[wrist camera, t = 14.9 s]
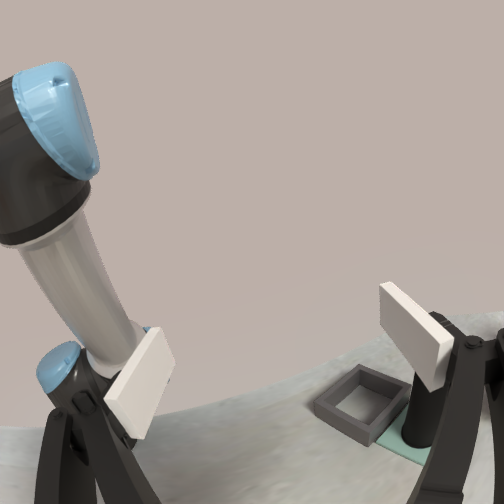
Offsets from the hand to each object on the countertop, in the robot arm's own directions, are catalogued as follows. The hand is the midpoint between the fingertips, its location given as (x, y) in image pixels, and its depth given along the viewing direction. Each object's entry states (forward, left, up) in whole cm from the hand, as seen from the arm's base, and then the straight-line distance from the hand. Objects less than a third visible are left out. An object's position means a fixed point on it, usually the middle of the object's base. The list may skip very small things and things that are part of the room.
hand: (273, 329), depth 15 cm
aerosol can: (+4, +22, -34) cm, 40 cm away
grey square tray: (-9, +21, -34) cm, 41 cm away
